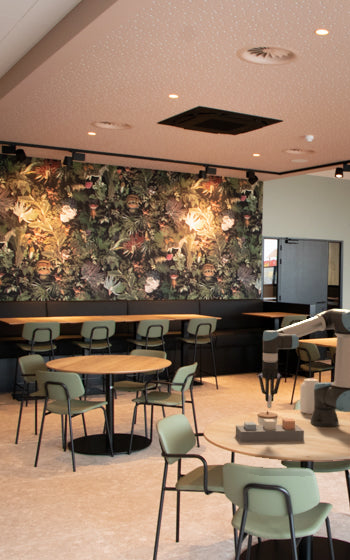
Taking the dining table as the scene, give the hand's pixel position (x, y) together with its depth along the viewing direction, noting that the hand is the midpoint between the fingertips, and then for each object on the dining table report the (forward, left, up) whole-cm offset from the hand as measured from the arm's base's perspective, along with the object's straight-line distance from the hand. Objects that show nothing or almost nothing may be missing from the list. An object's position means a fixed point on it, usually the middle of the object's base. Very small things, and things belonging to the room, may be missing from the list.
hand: (269, 407), depth 296 cm
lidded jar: (-4, -18, -16) cm, 24 cm away
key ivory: (0, 0, -11) cm, 11 cm away
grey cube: (+10, 0, -13) cm, 16 cm away
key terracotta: (-10, 0, -11) cm, 15 cm away
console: (0, 0, -15) cm, 15 cm away
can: (-41, -54, -16) cm, 70 cm away
